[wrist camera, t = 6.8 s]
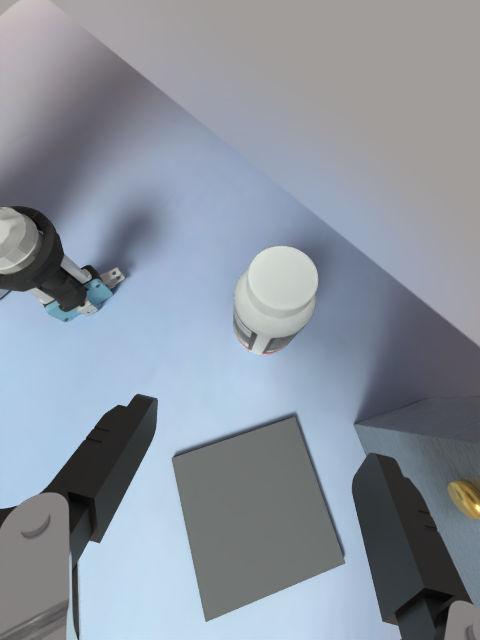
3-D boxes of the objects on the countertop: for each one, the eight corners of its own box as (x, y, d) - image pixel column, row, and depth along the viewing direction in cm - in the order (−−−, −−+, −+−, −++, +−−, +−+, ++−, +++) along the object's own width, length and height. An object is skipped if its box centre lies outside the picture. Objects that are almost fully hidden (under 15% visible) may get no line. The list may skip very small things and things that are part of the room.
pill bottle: (295, 304, 25) (335, 243, 15) (288, 361, 23) (329, 331, 14) (238, 294, 25) (243, 227, 15) (227, 350, 23) (226, 313, 14)
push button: (112, 258, 25) (42, 170, 16) (140, 300, 24) (81, 232, 15) (45, 294, 24) (-76, 222, 14) (71, 341, 23) (-43, 295, 13)
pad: (206, 617, 18) (205, 622, 17) (172, 457, 20) (171, 458, 20) (343, 560, 19) (345, 563, 18) (293, 416, 22) (294, 416, 21)
